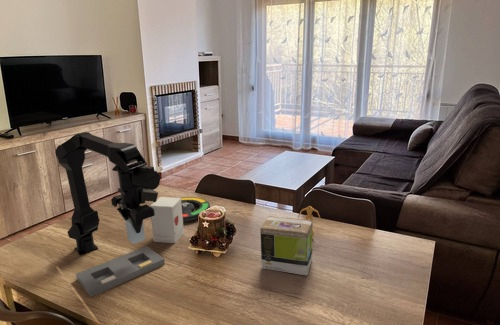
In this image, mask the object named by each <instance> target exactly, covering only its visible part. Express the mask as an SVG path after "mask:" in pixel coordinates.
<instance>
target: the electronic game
mask: <svg viewBox="0 0 500 325" xmlns="http://www.w3.org/2000/svg"><path fill="white" fill-rule="evenodd" d="M180 198H181V205H182V217H183V223H185V222H190V220H191V222H192V221H194V220H197V219H199V218H198V215H199V213H200V212H201V211H203V210H206V209H208V208H210V209H211V204H210V202H209V200H208V201H207V200H206V199H204V198H201V197H196V196H195V197H193V196H190V197H189V196H186V197H185V196H184V197H180ZM194 205H196V206H194ZM198 206H199V208H198V209H196V210H195V207H198Z"/></svg>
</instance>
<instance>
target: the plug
mask: <svg viewBox="0 0 500 325" xmlns="http://www.w3.org/2000/svg"><path fill="white" fill-rule="evenodd" d="M124 222H125V227H126V235H127V240H128V241H129V242H130V243H131V244H132V245H135V244H138V243H141V242H144V241H145V240H146V236H145V227H144V226H145V225H144V221H143V222H142V227H141V231H140V233H136V231H135V229H134V228H133V226H132V224H131V222H130V220H129V219H128V220H124Z"/></svg>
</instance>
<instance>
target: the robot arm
mask: <svg viewBox="0 0 500 325" xmlns="http://www.w3.org/2000/svg"><path fill="white" fill-rule="evenodd" d="M87 150H89V151H92V152H95V153H97V154H99V155H102V156H105V157H106V158H107V159H108V160H109V162H110V163H112V164H113V165H115V166H113V168H112V169H111V170H112V171H113V172H117V175H118V176H117V177H118V184H119V187H118V188H117V192H118V193H119V194H117V195H114V196H113V197H112V198H111V206H113V207H115V208H116V207H118V208H117V209H116V210H117V211H118V213H119V214H120V215H121V217H122V218H123V220H124V221H125V220H128V219H129V220H130V222H131V224H132V226H133V228H134V229H135V231H136V233H140V231H141V227H142V222H143V223H144V220H146V219H149V218H151V217H152V216H154V215H155V210H154V209H153V208H152V207H150V205H148V204H146V202H153V203H154V202H156V201H157V200H158V197H159V196H158V195H159V192H158V191H156V189H158V187H159V185H160V183H161V175H160V173H159V172H158V171H157V170H155V167H154V166H150V165H148V162H146V159H145V158H144V157H143V155H142V154H141V152H140V150H139V149H138V147H137V146H136V145H135V144H133V143H129V142H113V141H111V140H108V139H106V138H102V137H99V136H97V135H95V134H92V133H90V132H87V131H83V132H80V133H75V134H74V135H73V136H71V137H70V138H69V139H68V140H65V142H62V143H61V144H59V145H58V146H57V147H56V148H55V156H56V158H57V161H58V163H59V165H61V167H62V168H63V169H65V173H66V176H67V180H68V186H69V190H70V195H71V199H72V204H73V209H74V210H73V212H72V216H71V220H70V221H71V226H70V228H69V229H68V231H67V235H68V237H69V239H73V240H75V243H76V247H74V251H75V252H76V253H77V254H78V255H79V256H83V255H86V254H89V253H91V252H94V251H97V250H99V246H97V245H96V244H95V240H94V236H93V234H94V233H95V232H97V231H98V230H99V226H100V221H101V220H100V217H99V212H98V210H94V208H92V207H91V205H90V199H89V195H88V189H87V186H86V181H85V175H84V171H83V165H84V164H85V161H86V153H85V152H86V151H87Z"/></svg>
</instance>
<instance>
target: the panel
mask: <svg viewBox="0 0 500 325" xmlns="http://www.w3.org/2000/svg"><path fill="white" fill-rule="evenodd" d="M165 262H166V261H165V258H164V257H162V256H161V255H160V254H159V253H158V252H156V251H154V250H153V249H152V248H150V247H149V246H148V245H146V246H144V247H141V248H138V249H136V250H133V251H130V252H128V253H126V254H123V255H121V256H118V257H116V258H113V259H110V260H107V261H105V262H103V263H100V264H97V265H94V266H92V267H90V268H87V269H84V270H82V271H80V272H77V273H75V277H76V280H77V282H78V283H79V284H80V285H81V287H82V288H83V289H84V291H85V292H86V293H87V294H88V296H89V297H90V298H91V297H92V298H93V296H96V295H99V294H100V293H103V292H106V291H108V290H111V289H112V288H114V287H117V286H118V285H121V284H124V283H126V282H128V281H131V280H132V279H135V278H137V277H139V276H142V275H144V274H147V273H149V272H151V271H154V270H155V269H157V268H161V267H162V266H165V264H166V263H165Z"/></svg>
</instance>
